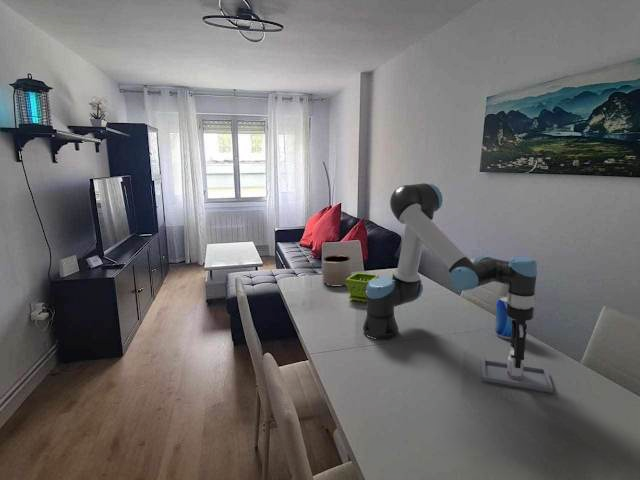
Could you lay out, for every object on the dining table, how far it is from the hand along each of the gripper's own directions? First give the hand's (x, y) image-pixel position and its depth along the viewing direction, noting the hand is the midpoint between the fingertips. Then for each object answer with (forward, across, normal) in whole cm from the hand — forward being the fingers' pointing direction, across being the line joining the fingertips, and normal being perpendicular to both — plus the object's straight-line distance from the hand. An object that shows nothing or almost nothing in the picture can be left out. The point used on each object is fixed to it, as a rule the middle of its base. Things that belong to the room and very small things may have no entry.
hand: (515, 370), depth 120 cm
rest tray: (+3, 0, 0) cm, 3 cm away
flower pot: (+2, +55, +68) cm, 88 cm away
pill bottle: (+2, 0, 0) cm, 2 cm away
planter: (+2, +78, +91) cm, 120 cm away
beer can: (+3, +32, 0) cm, 32 cm away
